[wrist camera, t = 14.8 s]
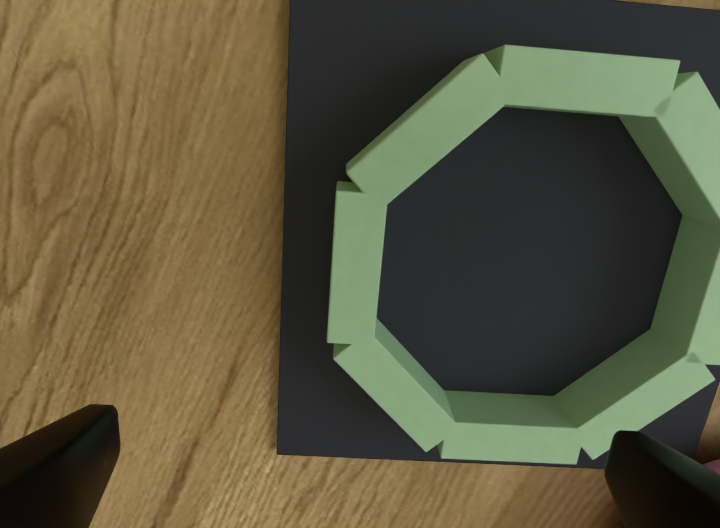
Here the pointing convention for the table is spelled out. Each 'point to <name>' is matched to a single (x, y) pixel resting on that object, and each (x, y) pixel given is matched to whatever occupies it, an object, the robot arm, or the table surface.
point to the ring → (621, 370)
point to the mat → (476, 214)
